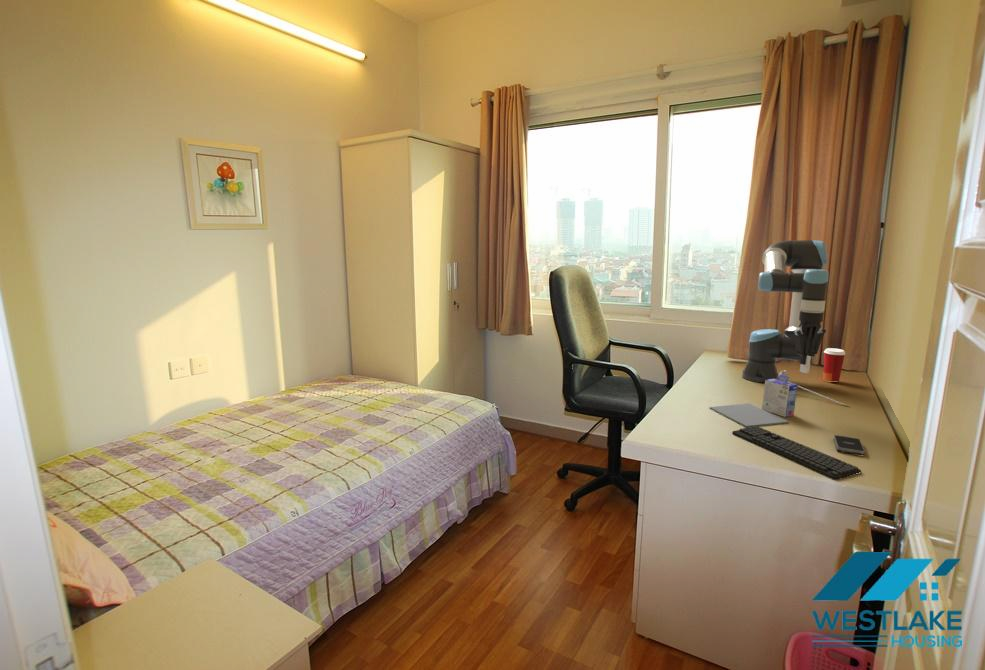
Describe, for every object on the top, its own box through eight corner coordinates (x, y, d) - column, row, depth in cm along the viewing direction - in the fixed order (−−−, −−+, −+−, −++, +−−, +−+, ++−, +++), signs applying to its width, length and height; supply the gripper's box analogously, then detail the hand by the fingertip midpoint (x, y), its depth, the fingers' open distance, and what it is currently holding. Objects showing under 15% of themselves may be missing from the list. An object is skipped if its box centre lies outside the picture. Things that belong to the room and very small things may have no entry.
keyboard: (731, 435, 168) (731, 429, 168) (755, 430, 173) (756, 424, 172) (834, 482, 136) (835, 475, 136) (861, 474, 140) (862, 468, 140)
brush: (842, 420, 193) (849, 400, 189) (774, 391, 214) (779, 372, 211) (847, 417, 195) (854, 397, 191) (779, 388, 216) (784, 369, 212)
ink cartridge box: (794, 415, 185) (799, 378, 182) (785, 417, 182) (790, 380, 180) (769, 407, 194) (773, 372, 191) (761, 409, 191) (764, 373, 188)
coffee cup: (841, 380, 228) (845, 349, 225) (842, 385, 221) (846, 352, 218) (819, 377, 232) (823, 347, 229) (819, 382, 226) (824, 350, 223)
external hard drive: (837, 453, 154) (837, 447, 153) (833, 440, 163) (833, 434, 163) (864, 457, 150) (865, 451, 150) (858, 444, 160) (859, 438, 160)
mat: (748, 404, 197) (748, 403, 196) (788, 422, 177) (789, 421, 177) (709, 408, 193) (709, 407, 192) (746, 427, 173) (746, 425, 173)
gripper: (817, 309, 187) (810, 369, 192) (789, 310, 185) (782, 371, 189) (835, 312, 180) (826, 374, 185) (805, 313, 177) (798, 376, 182)
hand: (804, 372), depth 187 cm, fingers closed
